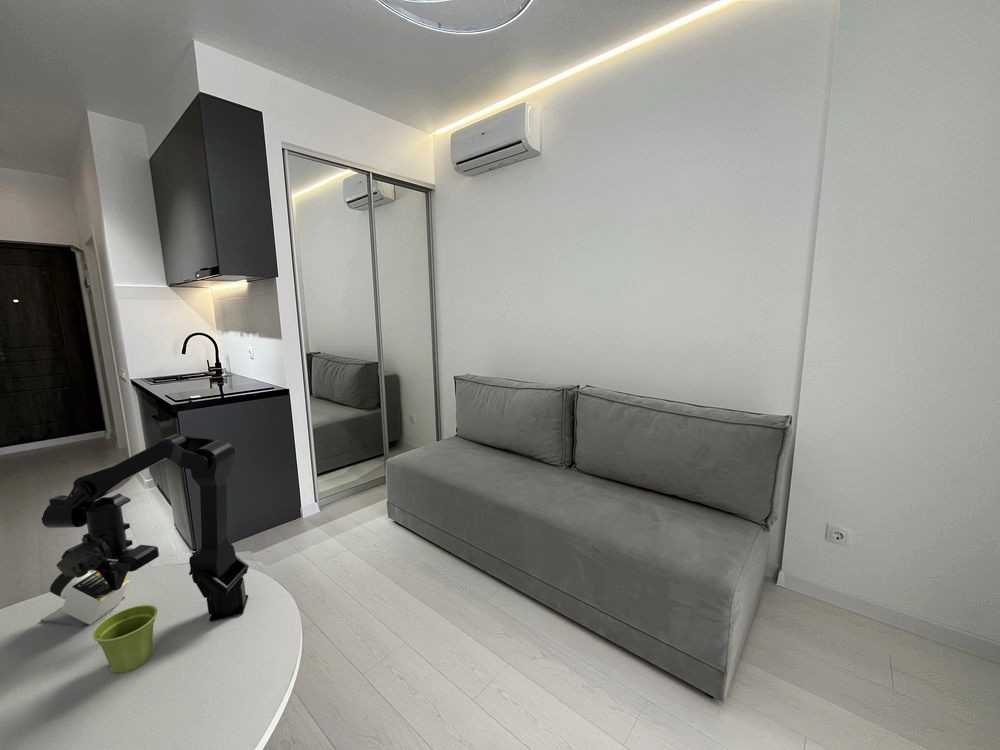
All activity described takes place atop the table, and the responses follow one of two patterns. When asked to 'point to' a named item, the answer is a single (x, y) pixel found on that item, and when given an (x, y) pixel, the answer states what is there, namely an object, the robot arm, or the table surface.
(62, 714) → the table surface
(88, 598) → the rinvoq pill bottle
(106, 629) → the plant pot
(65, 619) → the mat
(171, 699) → the table surface
